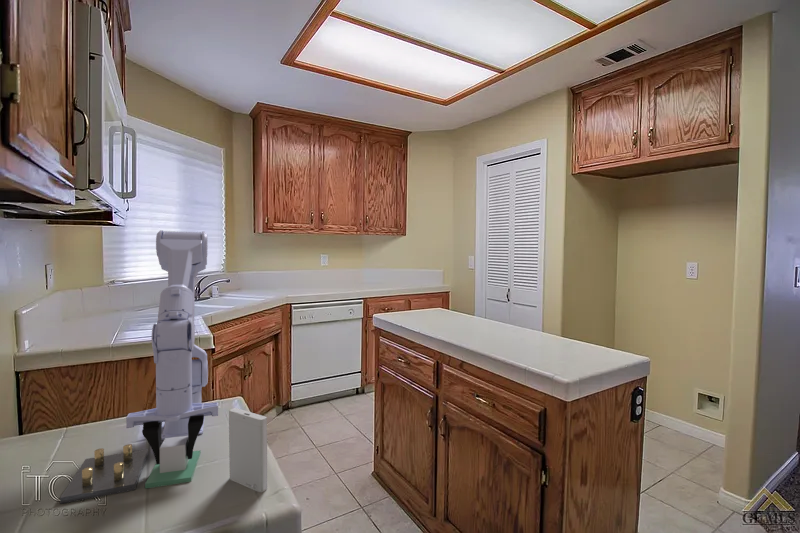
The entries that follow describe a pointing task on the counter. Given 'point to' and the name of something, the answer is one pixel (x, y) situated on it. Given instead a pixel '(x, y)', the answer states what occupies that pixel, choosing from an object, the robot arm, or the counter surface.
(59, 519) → the counter surface
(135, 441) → the counter surface
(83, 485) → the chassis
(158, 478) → the board
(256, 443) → the external hard drive
